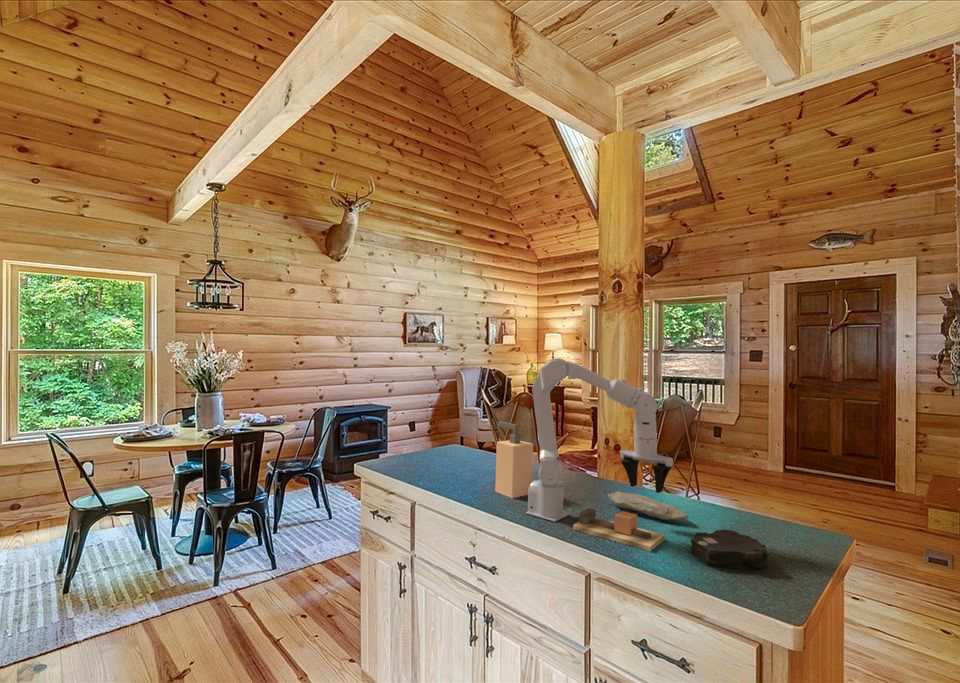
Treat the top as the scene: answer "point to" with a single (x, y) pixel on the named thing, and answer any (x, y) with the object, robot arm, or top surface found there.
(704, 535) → the rock sample
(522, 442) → the soap dispenser
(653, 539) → the rail board
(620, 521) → the slider block
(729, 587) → the top surface
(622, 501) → the stone tool
